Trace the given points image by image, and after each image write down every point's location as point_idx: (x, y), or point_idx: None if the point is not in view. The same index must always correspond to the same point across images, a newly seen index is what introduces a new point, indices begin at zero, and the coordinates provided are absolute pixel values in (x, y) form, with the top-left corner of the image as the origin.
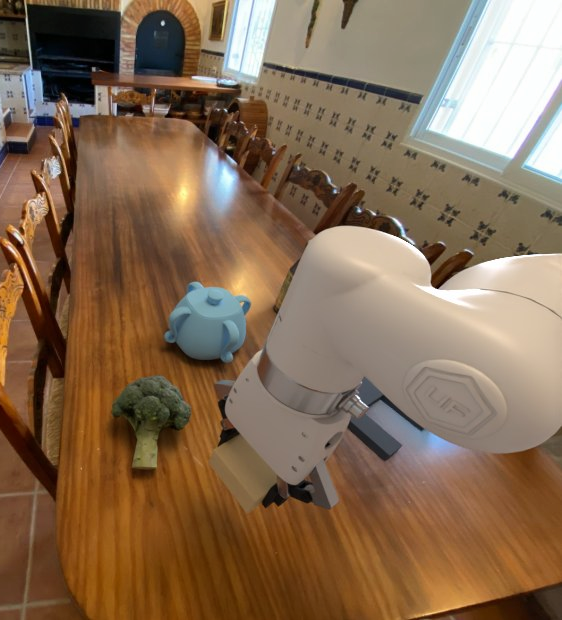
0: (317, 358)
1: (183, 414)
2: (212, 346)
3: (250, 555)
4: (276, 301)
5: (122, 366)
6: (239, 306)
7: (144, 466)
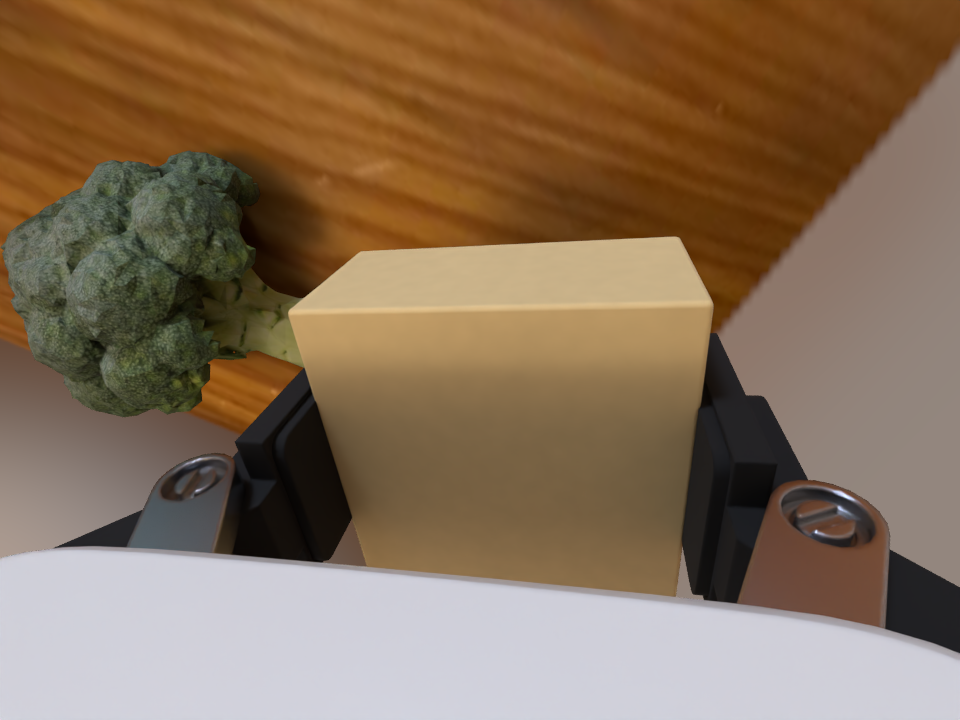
0: None
1: (193, 250)
2: None
3: (673, 194)
4: None
5: (7, 215)
6: None
7: None
